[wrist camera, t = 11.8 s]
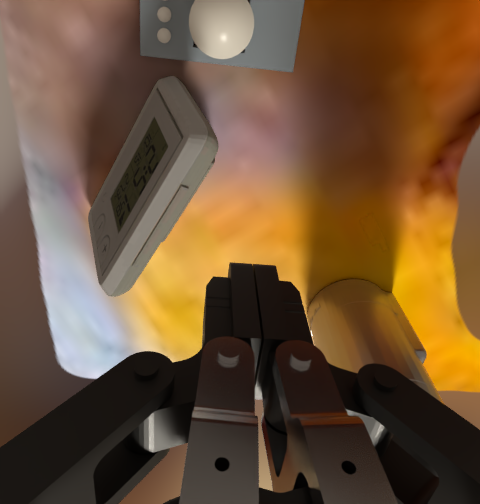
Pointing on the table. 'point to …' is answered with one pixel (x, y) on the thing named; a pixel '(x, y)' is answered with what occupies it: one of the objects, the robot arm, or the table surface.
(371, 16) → the table surface
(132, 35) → the table surface
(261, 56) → the button board
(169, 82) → the digital clock
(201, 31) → the button
